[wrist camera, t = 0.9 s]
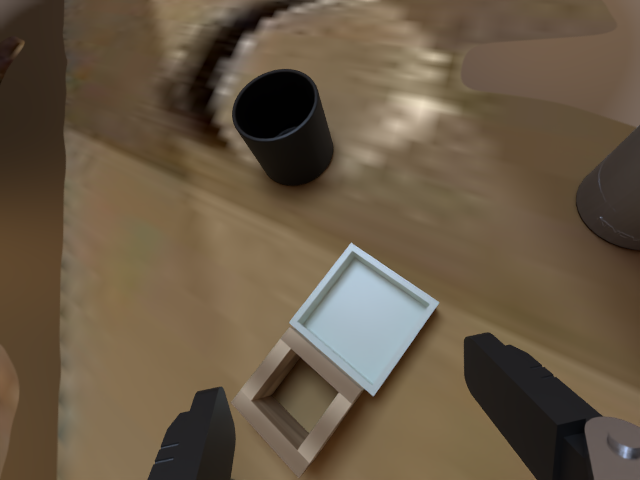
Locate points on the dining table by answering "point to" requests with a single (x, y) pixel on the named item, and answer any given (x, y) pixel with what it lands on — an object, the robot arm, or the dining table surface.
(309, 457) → the block
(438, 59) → the dining table surface
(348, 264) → the tray
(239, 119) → the mug
